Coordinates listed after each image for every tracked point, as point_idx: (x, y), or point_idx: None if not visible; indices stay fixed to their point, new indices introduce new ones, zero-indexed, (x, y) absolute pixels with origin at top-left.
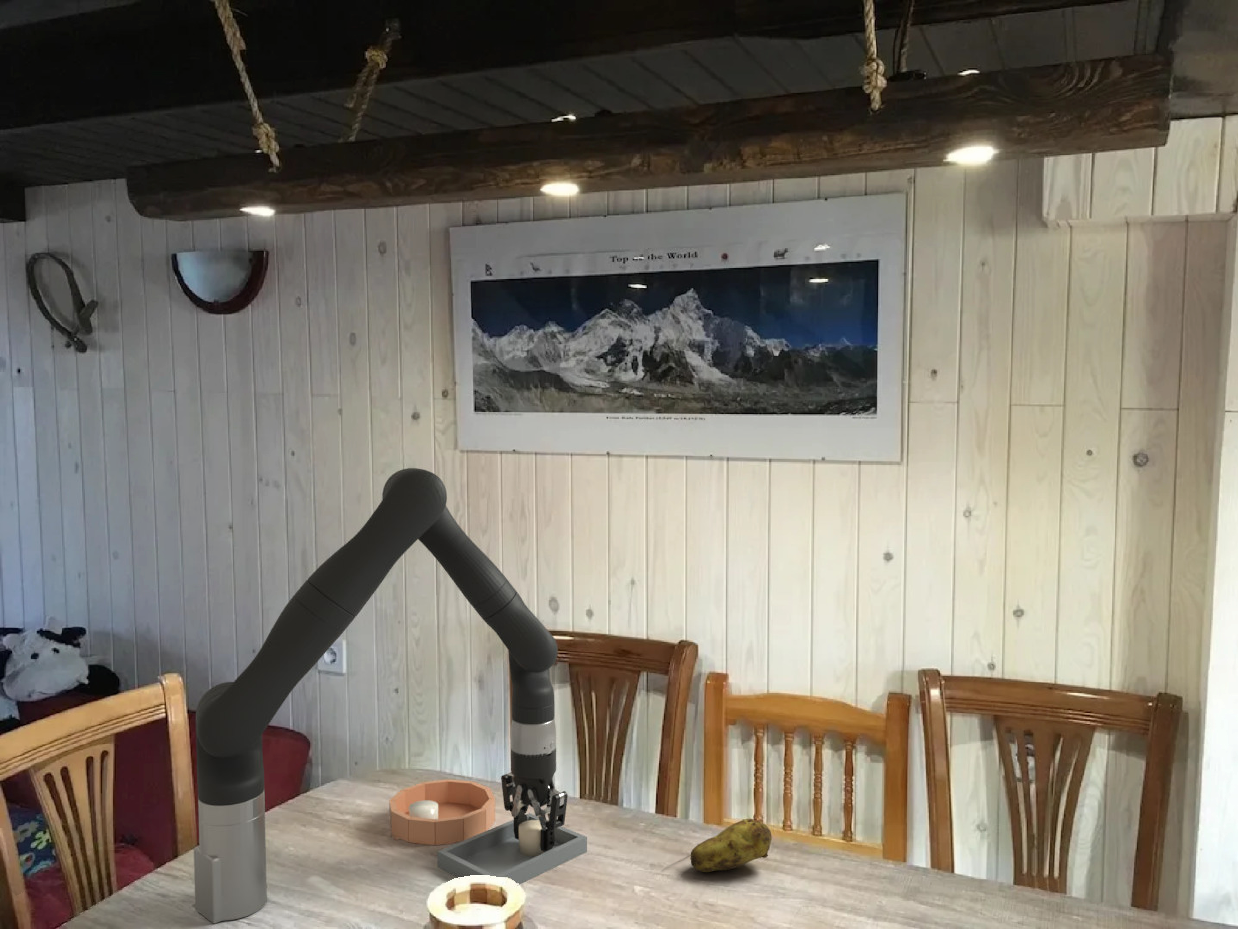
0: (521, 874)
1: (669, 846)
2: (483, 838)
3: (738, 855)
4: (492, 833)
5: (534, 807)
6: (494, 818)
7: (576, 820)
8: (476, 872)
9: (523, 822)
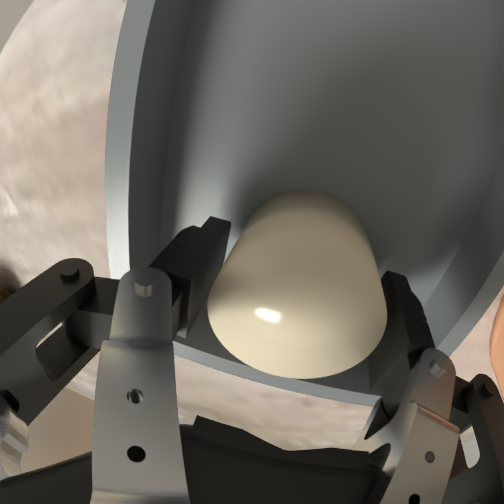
0: None
1: None
2: None
3: None
4: (501, 243)
5: (153, 418)
6: (494, 362)
7: (298, 417)
8: None
9: (374, 343)
